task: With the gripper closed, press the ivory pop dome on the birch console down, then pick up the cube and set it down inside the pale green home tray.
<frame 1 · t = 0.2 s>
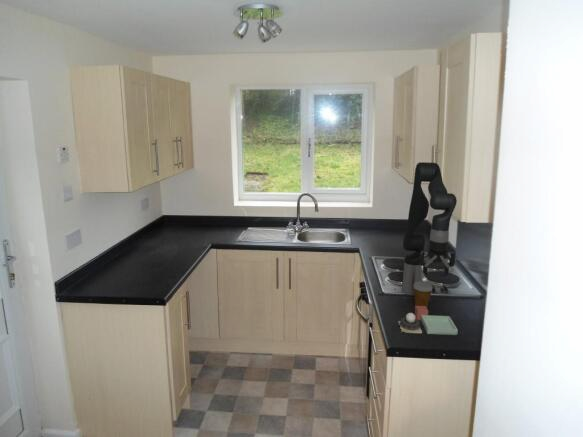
hand: (435, 274, 195), 28 cm above the worktop, fingers open, 8 cm apart
cube: (420, 317, 216), on the worktop
disposable coffee cup: (421, 306, 228), on the worktop
home tray: (438, 327, 207), on the worktop
dome: (410, 317, 204), point 5 cm above the worktop, slide at 0.0 cm
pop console: (409, 328, 206), on the worktop
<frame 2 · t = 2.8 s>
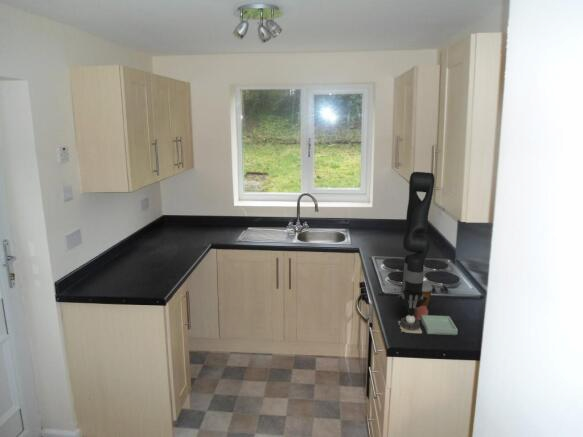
hand: (410, 314, 204), 7 cm above the worktop, fingers closed
dome: (410, 319, 204), point 5 cm above the worktop, slide at -0.9 cm, touching gripper
everything else where it was.
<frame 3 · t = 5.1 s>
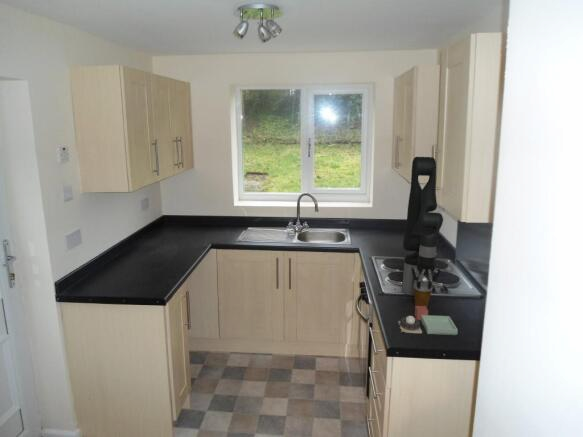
hand: (423, 288, 212), 15 cm above the worktop, fingers open, 4 cm apart
dome: (410, 320, 205), point 4 cm above the worktop, slide at -1.4 cm
everything else where it was.
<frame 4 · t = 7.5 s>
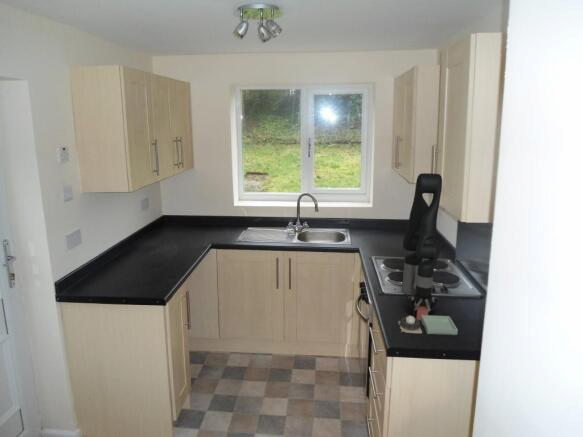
hand: (420, 316, 216), 0 cm above the worktop, fingers closed on cube, 5 cm apart
cube: (420, 317, 216), on the worktop, touching gripper
everything else where it was.
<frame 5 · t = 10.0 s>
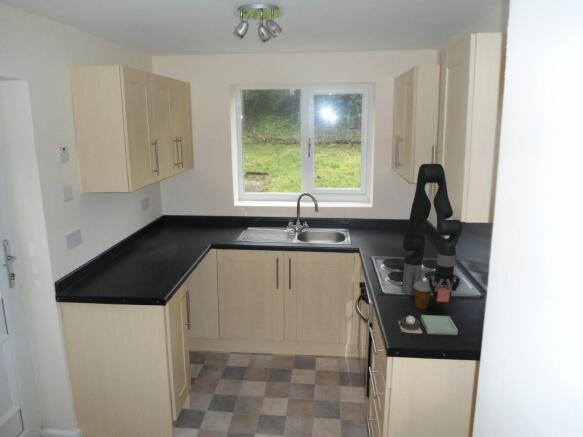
hand: (441, 298, 203), 15 cm above the worktop, fingers closed on cube, 5 cm apart
cube: (441, 299, 204), point 14 cm above the worktop, touching gripper
everything else where it was.
when the fingers open (2 cm above the worktop, at t = 12.6 s): cube drops 1 cm, resting on home tray.
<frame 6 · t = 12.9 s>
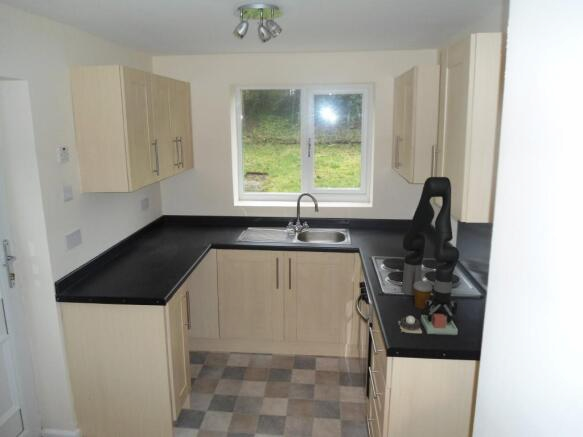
hand: (438, 321, 206), 3 cm above the worktop, fingers open, 8 cm apart
cube: (438, 325, 207), point 1 cm above the worktop, touching home tray
everything else where it was.
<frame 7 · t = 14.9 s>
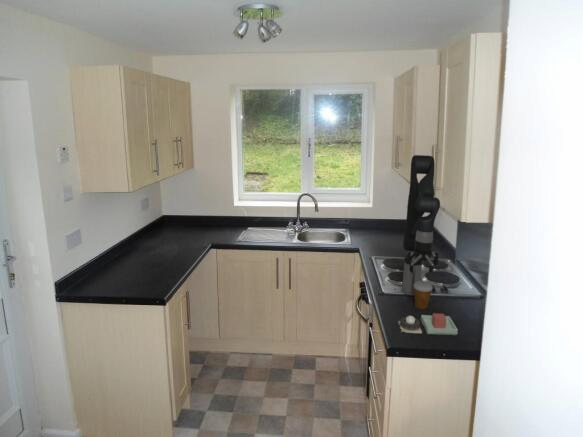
hand: (420, 272, 209), 24 cm above the worktop, fingers open, 8 cm apart
nothing on the worktop moved.
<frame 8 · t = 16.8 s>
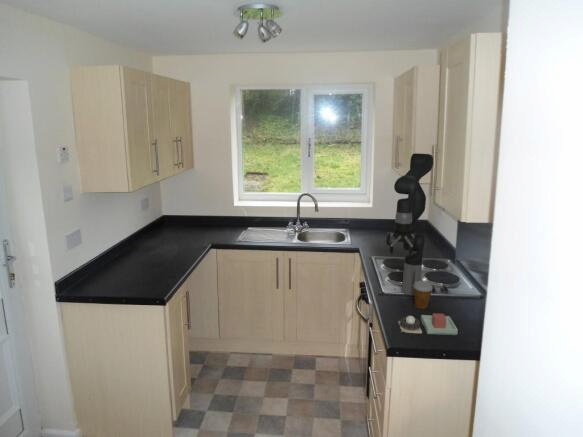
hand: (400, 253, 215), 30 cm above the worktop, fingers open, 8 cm apart
nothing on the worktop moved.
at the end: cube inside the target area (0.1 cm from its centre), point 0.6 cm above the worktop; cube tilted 0°; dome slide at -1.4 cm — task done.
